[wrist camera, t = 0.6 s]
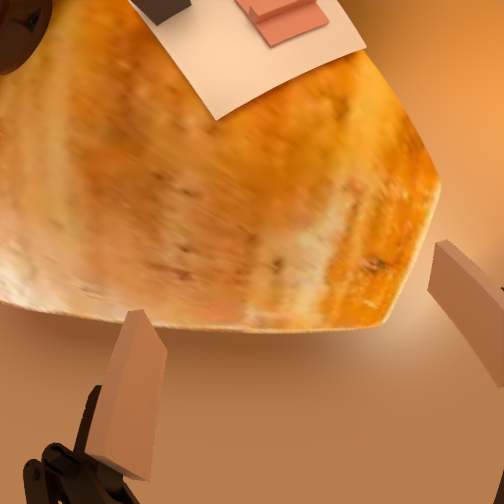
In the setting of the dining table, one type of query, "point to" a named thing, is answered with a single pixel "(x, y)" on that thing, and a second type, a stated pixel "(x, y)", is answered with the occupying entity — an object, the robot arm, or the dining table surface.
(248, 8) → the salmon red stepped block
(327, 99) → the dining table surface
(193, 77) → the socket plate
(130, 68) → the dining table surface
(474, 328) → the robot arm
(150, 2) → the plug
